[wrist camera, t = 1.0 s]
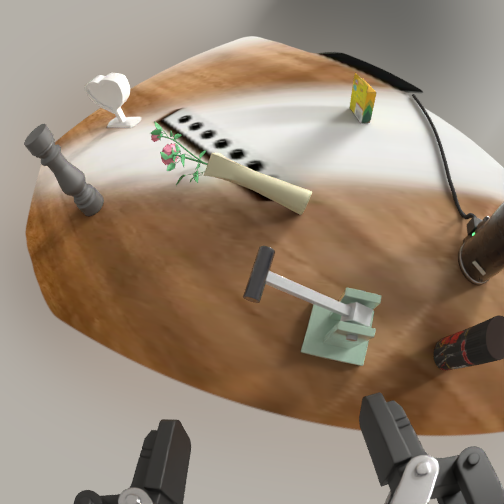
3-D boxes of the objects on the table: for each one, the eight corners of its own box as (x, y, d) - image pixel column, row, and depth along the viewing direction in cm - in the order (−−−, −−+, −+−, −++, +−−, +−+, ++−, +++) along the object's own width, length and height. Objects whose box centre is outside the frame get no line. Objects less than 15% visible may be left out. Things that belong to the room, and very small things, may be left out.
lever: (239, 298, 28) (247, 294, 26) (255, 249, 30) (264, 242, 28) (353, 341, 31) (367, 340, 29) (362, 299, 33) (375, 296, 31)
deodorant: (435, 374, 36) (489, 365, 22) (431, 341, 39) (482, 321, 25) (461, 365, 36) (515, 352, 22) (456, 333, 38) (508, 311, 25)
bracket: (300, 352, 41) (308, 340, 29) (314, 298, 44) (326, 265, 32) (360, 366, 39) (392, 359, 26) (372, 312, 42) (404, 284, 30)
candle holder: (103, 191, 61) (49, 118, 38) (104, 209, 58) (43, 135, 35) (83, 201, 60) (27, 133, 38) (83, 220, 57) (20, 151, 35)
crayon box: (370, 123, 62) (378, 86, 51) (360, 123, 62) (367, 86, 51) (358, 106, 65) (364, 72, 55) (349, 107, 65) (353, 71, 55)
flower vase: (288, 239, 58) (145, 178, 60) (310, 188, 59) (170, 133, 61) (295, 231, 46) (123, 159, 48) (321, 168, 47) (154, 108, 49)
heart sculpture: (103, 127, 74) (79, 85, 58) (112, 117, 76) (90, 76, 60) (137, 127, 70) (113, 79, 54) (146, 117, 72) (125, 69, 56)
